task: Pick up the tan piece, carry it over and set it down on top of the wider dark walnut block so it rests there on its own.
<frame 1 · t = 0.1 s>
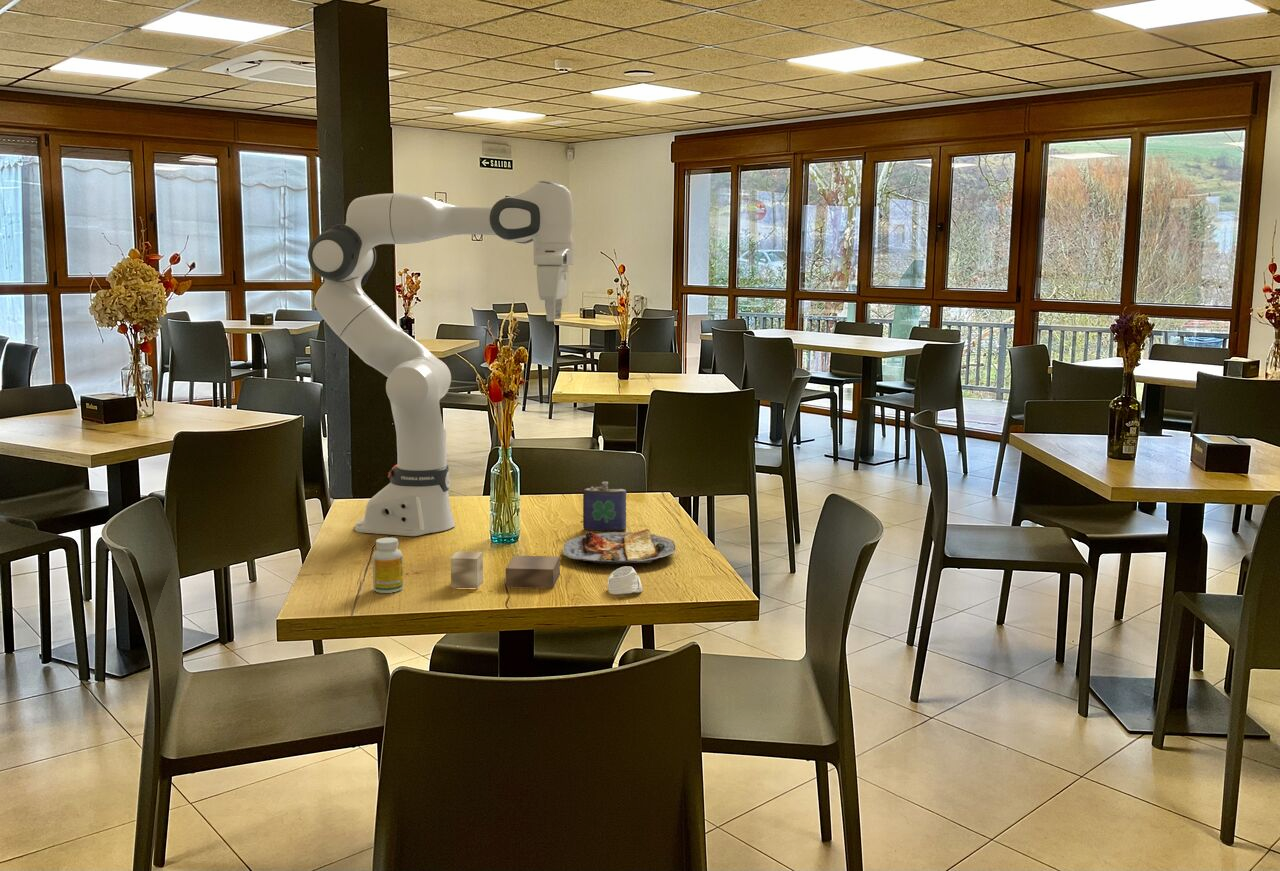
hand: (554, 320, 237), 48 cm above the table, fingers open, 8 cm apart
supplement bottle: (388, 590, 199), on the table
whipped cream: (625, 592, 199), on the table
tan piece: (467, 585, 202), on the table
food plate: (619, 556, 224), on the table
walnut block: (533, 582, 205), on the table
flask: (604, 531, 244), on the table
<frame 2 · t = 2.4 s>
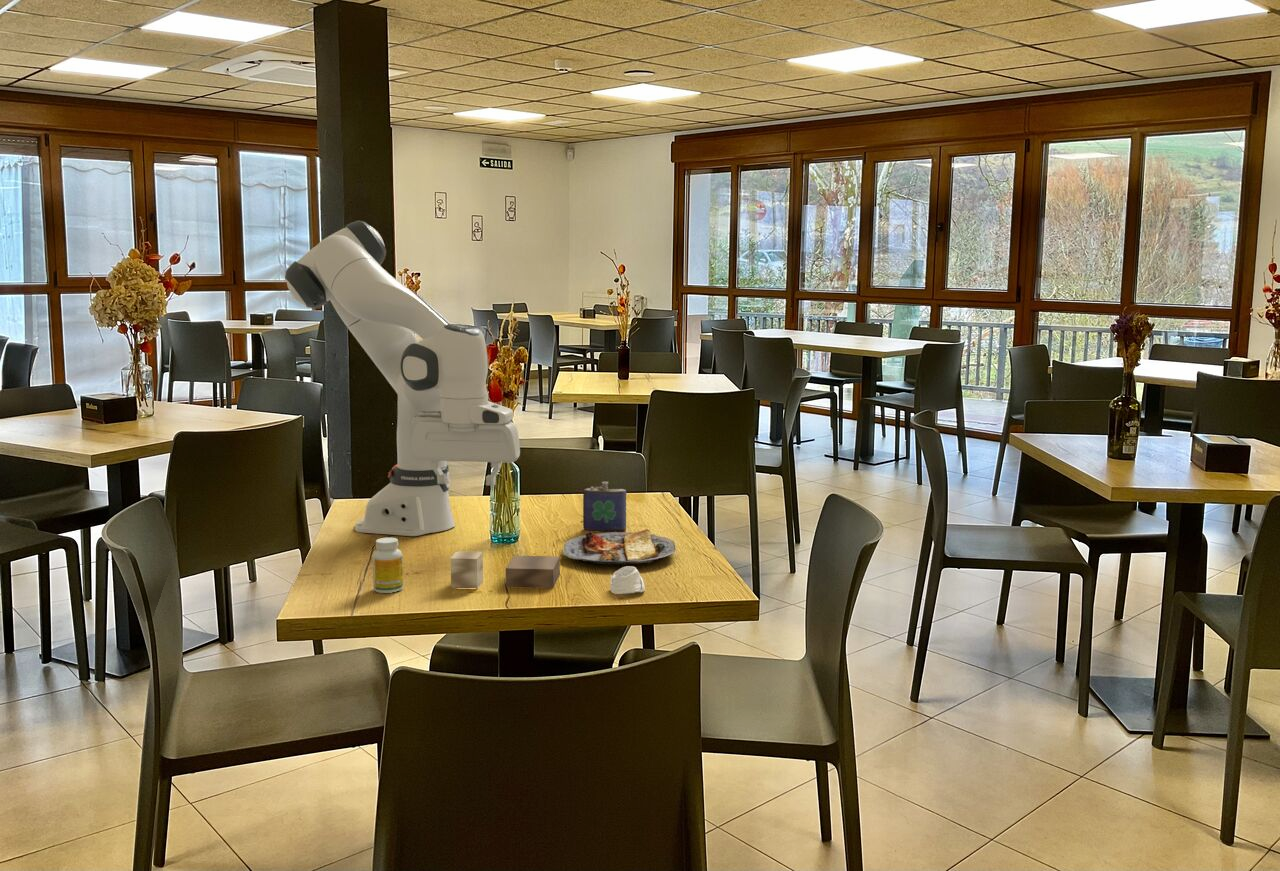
hand: (466, 484, 201), 19 cm above the table, fingers open, 8 cm apart
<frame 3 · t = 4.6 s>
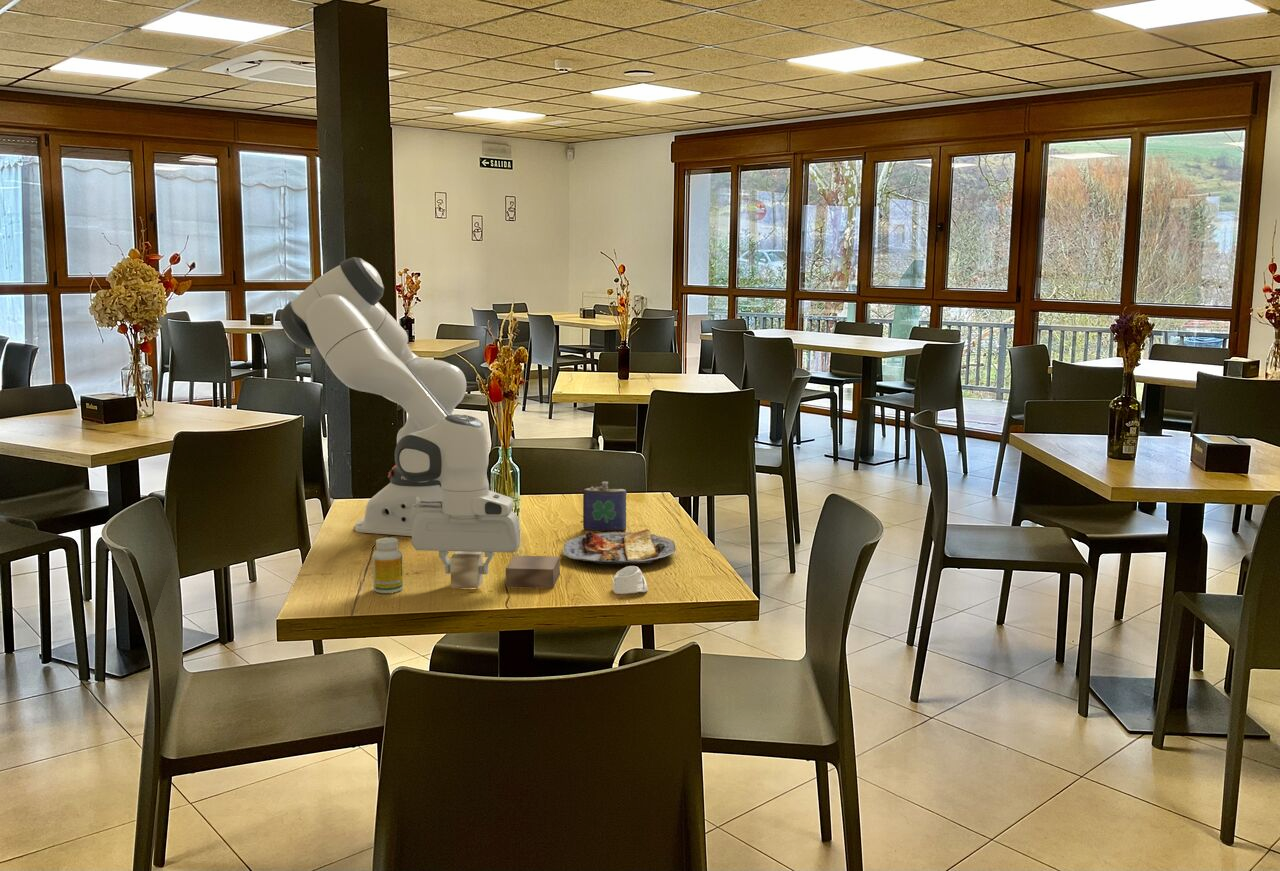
hand: (466, 573, 201), 2 cm above the table, fingers closed on tan piece, 5 cm apart
tan piece: (467, 585, 202), on the table, touching gripper
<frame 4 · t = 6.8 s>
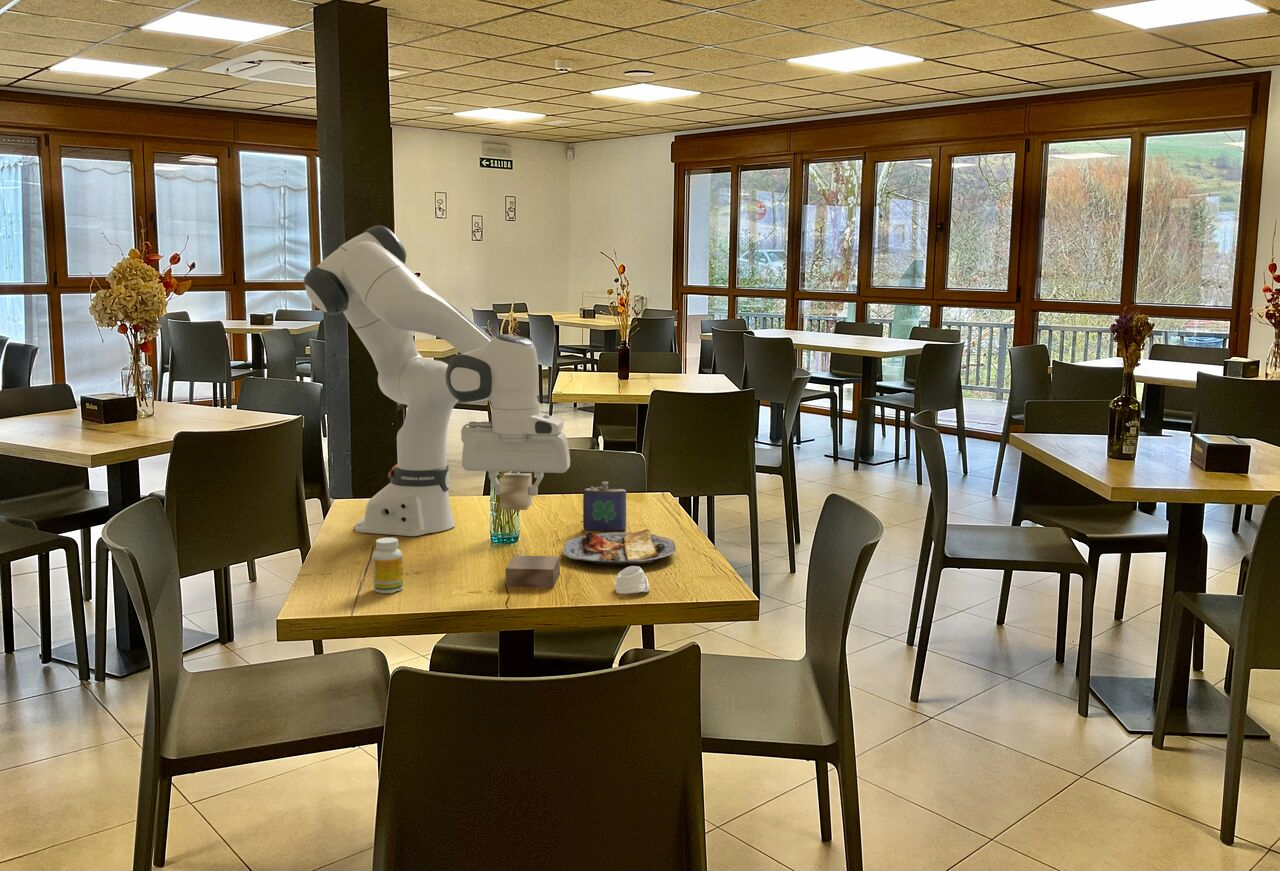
hand: (516, 494, 201), 17 cm above the table, fingers closed on tan piece, 5 cm apart
tan piece: (516, 506, 201), point 15 cm above the table, touching gripper
when the fingers open (8 cm above the table, at t = 9.1 s): tan piece drops 2 cm, point 4 cm above the table.
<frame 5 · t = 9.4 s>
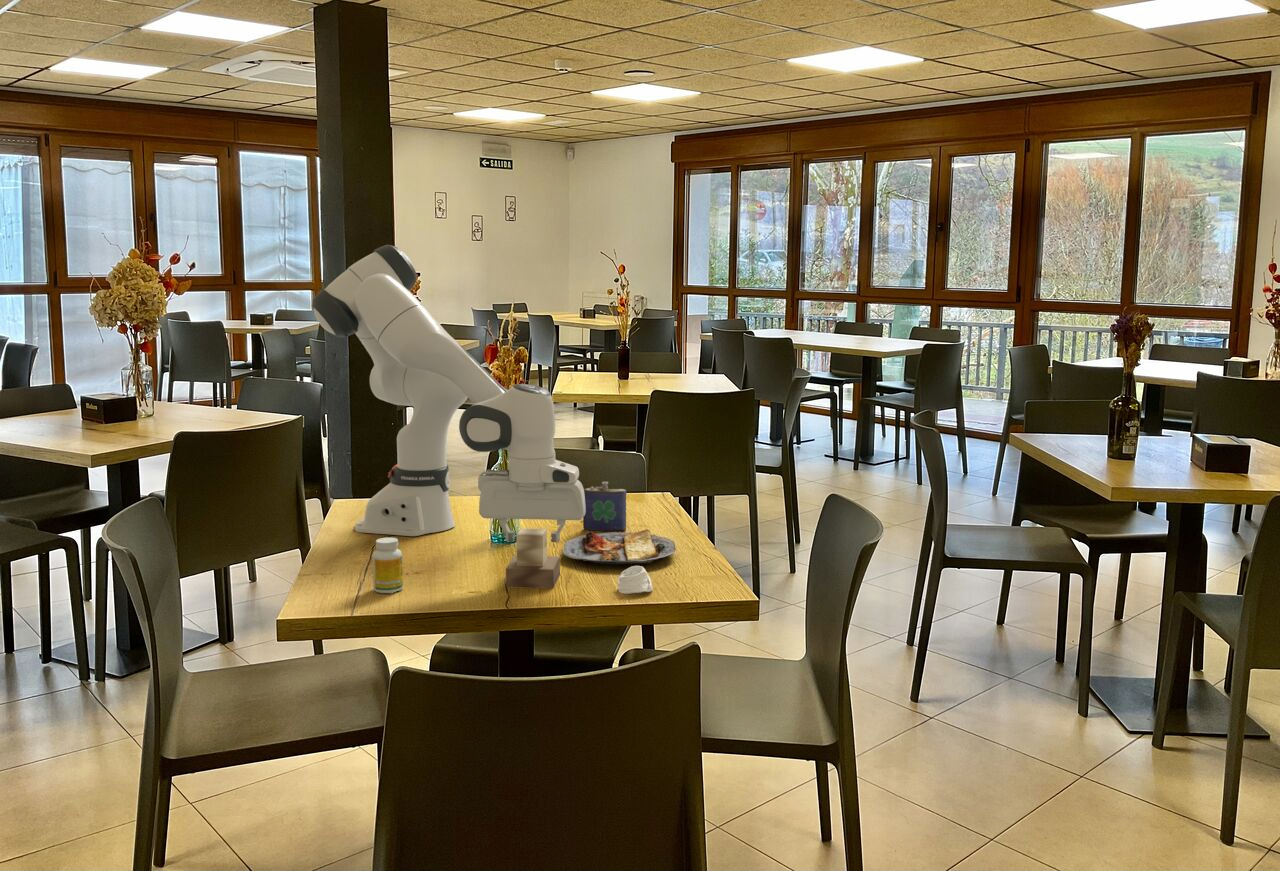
hand: (532, 541, 204), 8 cm above the table, fingers open, 7 cm apart
tan piece: (532, 562, 204), point 4 cm above the table
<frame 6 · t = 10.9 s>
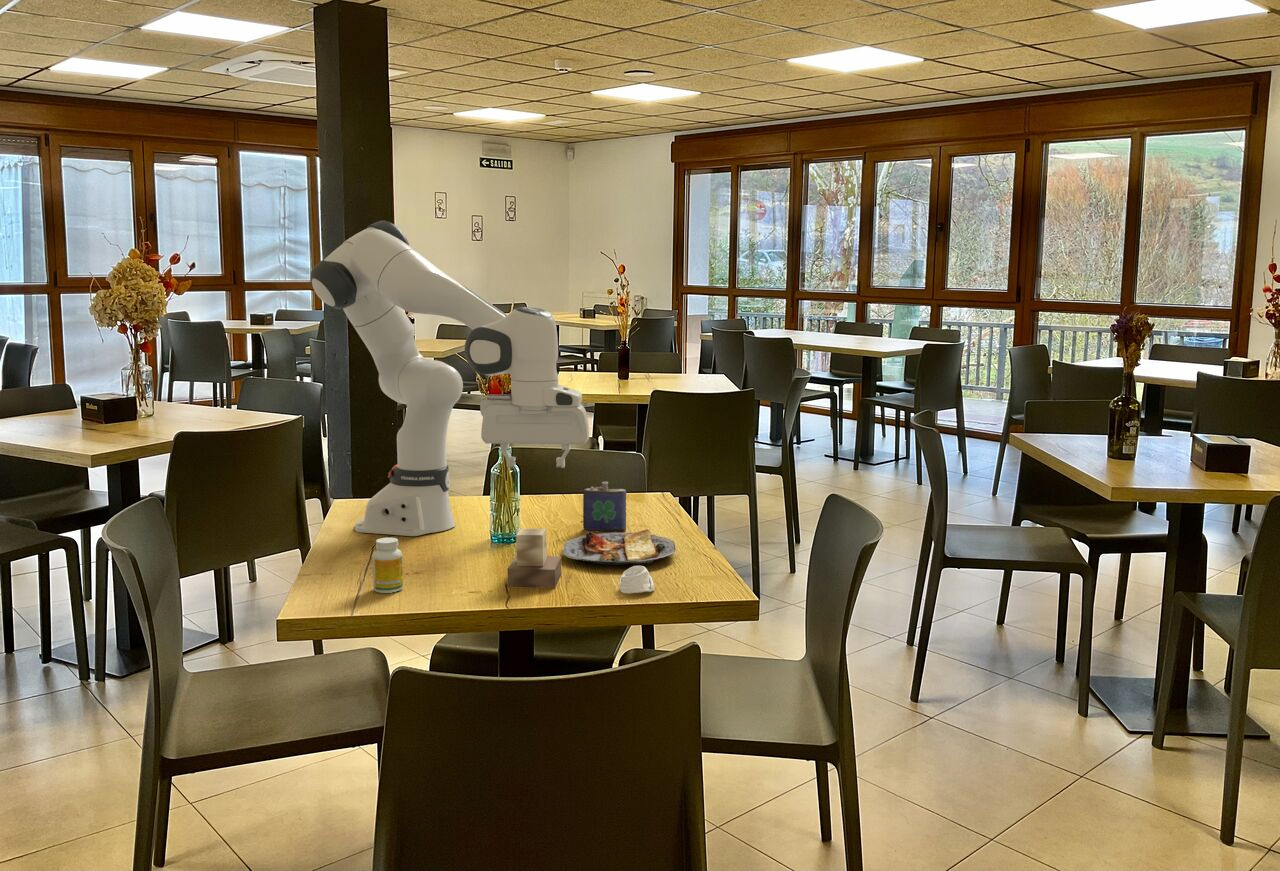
hand: (535, 467, 202), 22 cm above the table, fingers open, 8 cm apart
tan piece: (531, 562, 204), point 4 cm above the table, touching walnut block
walnut block: (535, 582, 205), on the table, touching tan piece
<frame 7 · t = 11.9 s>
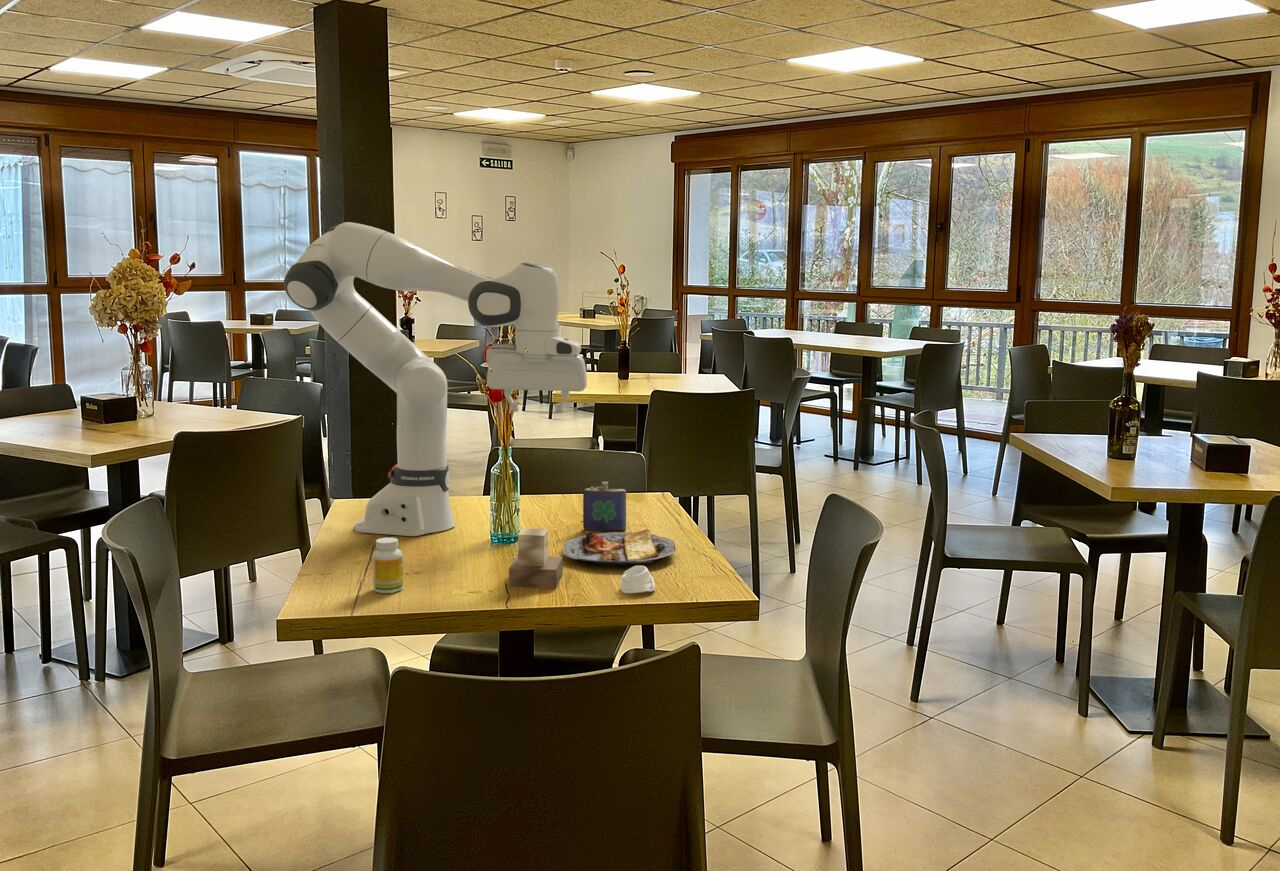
hand: (536, 412, 217), 30 cm above the table, fingers open, 8 cm apart
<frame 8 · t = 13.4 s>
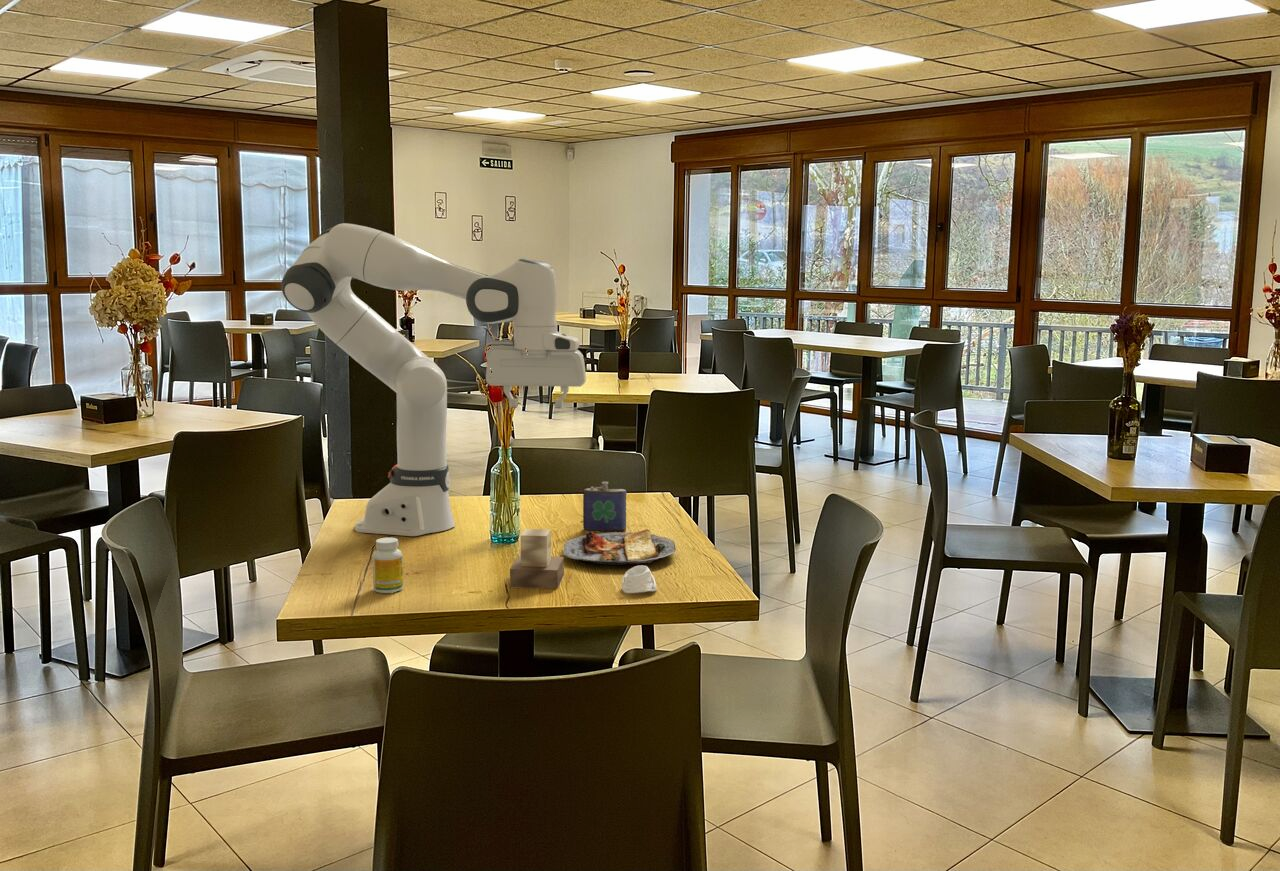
hand: (536, 407, 218), 31 cm above the table, fingers open, 8 cm apart
tan piece: (536, 562, 204), point 4 cm above the table
walnut block: (537, 583, 205), on the table
at the end: tan piece inside the target area on the walnut block (0.2 cm from its centre), point 4.0 cm above the walnut block's base; tan piece tilted 0°; the gripper is holding nothing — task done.
